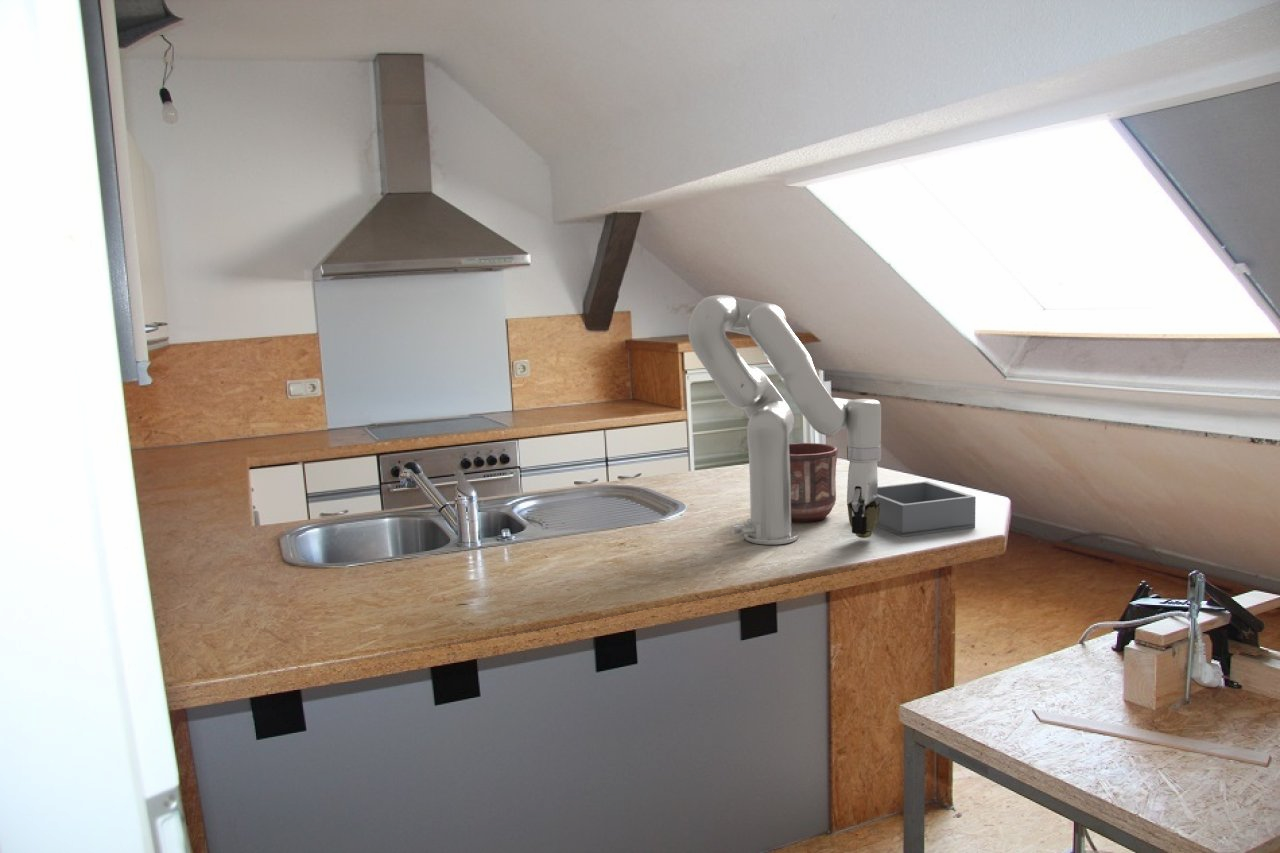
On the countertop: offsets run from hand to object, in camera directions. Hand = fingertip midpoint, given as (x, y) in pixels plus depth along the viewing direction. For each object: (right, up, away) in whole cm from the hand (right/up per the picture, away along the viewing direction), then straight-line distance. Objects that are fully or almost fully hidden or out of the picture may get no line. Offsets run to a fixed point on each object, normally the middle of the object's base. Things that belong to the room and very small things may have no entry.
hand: (863, 528), depth 222 cm
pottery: (-10, 0, +25) cm, 27 cm away
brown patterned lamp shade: (0, -2, 0) cm, 2 cm away
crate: (+16, 0, +16) cm, 23 cm away
